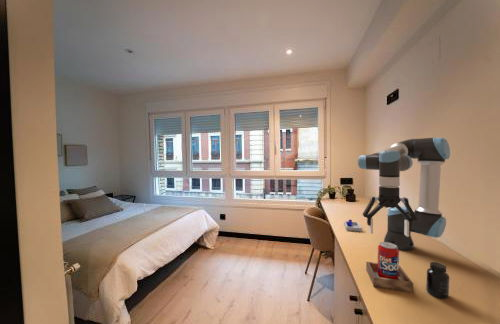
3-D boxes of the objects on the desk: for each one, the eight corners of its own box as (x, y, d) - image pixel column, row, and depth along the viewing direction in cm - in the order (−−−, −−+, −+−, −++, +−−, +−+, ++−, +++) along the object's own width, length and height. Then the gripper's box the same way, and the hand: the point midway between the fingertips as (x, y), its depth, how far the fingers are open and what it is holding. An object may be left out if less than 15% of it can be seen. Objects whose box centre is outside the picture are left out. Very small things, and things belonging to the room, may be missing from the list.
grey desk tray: (357, 225, 166) (357, 222, 166) (361, 232, 153) (361, 228, 153) (343, 224, 169) (344, 221, 169) (346, 230, 156) (346, 226, 156)
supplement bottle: (421, 289, 89) (422, 260, 88) (436, 288, 89) (437, 259, 89) (437, 300, 82) (438, 269, 81) (453, 299, 82) (454, 268, 82)
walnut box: (399, 274, 100) (399, 265, 99) (412, 293, 86) (413, 283, 86) (366, 269, 104) (366, 261, 104) (373, 286, 90) (373, 277, 90)
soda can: (388, 272, 99) (388, 240, 99) (402, 282, 92) (403, 248, 91) (373, 273, 98) (373, 241, 97) (386, 284, 90) (387, 249, 90)
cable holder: (351, 228, 159) (352, 223, 158) (346, 227, 161) (346, 222, 161) (353, 225, 165) (353, 220, 165) (349, 224, 167) (349, 219, 167)
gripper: (419, 185, 93) (418, 233, 94) (356, 184, 101) (355, 228, 102) (427, 188, 86) (426, 240, 87) (359, 186, 93) (358, 234, 94)
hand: (388, 234), depth 94 cm, fingers open, 13 cm apart
